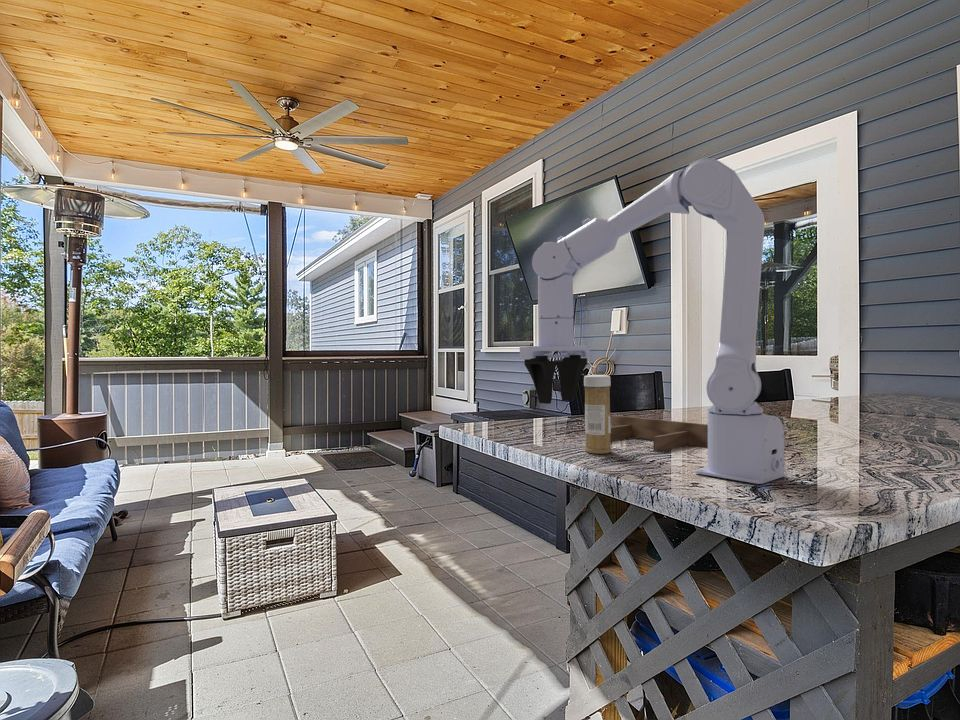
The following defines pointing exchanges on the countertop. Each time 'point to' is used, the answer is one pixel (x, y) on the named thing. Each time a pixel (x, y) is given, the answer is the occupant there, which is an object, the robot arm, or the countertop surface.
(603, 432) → the sprinkles bottle
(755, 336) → the robot arm
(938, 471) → the countertop surface
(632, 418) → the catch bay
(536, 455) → the countertop surface
